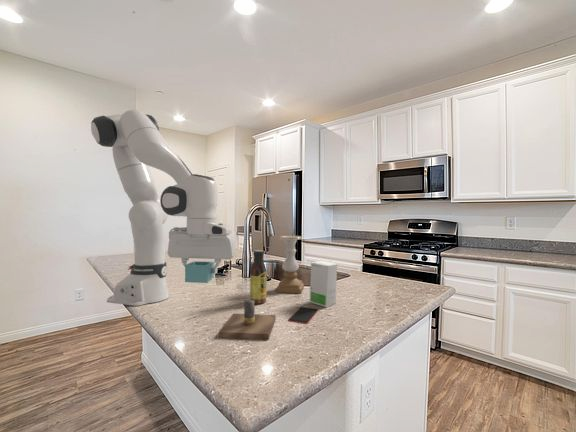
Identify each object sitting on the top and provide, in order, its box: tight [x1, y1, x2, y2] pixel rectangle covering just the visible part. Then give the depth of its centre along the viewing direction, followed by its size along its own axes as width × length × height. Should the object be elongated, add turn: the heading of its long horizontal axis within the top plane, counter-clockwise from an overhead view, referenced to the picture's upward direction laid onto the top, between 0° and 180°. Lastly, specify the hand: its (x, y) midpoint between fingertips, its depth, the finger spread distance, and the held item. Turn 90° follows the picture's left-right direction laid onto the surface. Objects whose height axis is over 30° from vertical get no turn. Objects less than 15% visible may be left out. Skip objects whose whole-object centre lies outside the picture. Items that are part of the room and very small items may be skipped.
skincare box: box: [309, 260, 338, 308], centre depth 107 cm, size 8×7×16 cm
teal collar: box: [184, 260, 216, 284], centre depth 85 cm, size 7×7×5 cm
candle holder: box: [275, 235, 305, 295], centre depth 125 cm, size 11×11×24 cm
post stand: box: [218, 299, 277, 340], centre depth 84 cm, size 14×14×8 cm
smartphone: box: [287, 306, 319, 325], centre depth 95 cm, size 7×1×14 cm
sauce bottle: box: [249, 249, 268, 305], centre depth 108 cm, size 6×6×20 cm
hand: (201, 272), depth 86 cm, fingers closed on teal collar, 7 cm apart
